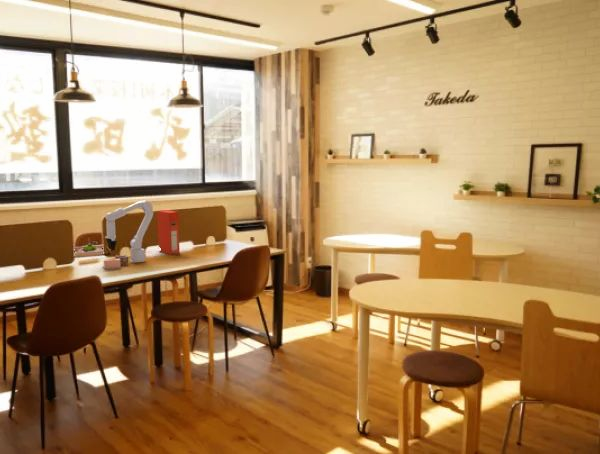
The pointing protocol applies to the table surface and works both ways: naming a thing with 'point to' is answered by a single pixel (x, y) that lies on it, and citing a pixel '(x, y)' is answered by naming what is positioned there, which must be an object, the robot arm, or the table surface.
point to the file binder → (168, 231)
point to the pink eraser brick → (112, 263)
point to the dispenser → (123, 259)
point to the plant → (90, 248)
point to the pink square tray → (88, 252)
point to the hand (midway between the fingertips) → (111, 249)
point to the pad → (112, 268)
